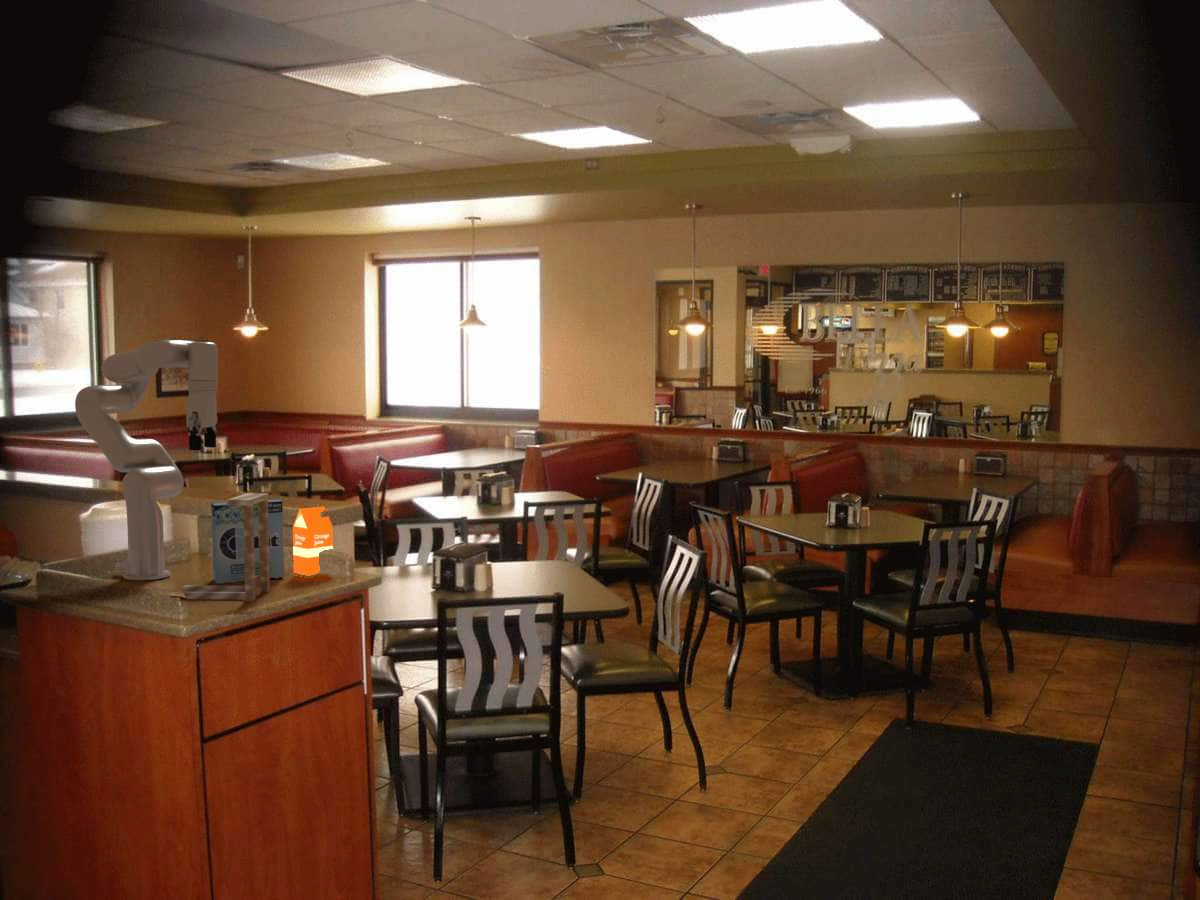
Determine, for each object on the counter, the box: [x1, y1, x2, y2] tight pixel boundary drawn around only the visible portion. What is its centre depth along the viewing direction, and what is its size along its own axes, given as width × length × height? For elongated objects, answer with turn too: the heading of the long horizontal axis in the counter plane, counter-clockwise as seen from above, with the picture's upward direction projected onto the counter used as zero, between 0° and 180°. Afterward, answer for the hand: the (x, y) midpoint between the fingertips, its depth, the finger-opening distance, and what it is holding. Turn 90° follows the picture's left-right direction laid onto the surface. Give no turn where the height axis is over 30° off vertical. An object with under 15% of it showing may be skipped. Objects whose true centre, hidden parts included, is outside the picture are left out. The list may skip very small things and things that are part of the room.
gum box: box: [210, 498, 286, 584], centre depth 323 cm, size 20×5×23 cm, turn 119°
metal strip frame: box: [181, 492, 271, 602], centre depth 300 cm, size 23×15×27 cm, turn 88°
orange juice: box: [292, 506, 334, 576], centre depth 332 cm, size 8×9×20 cm
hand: (202, 448), depth 309 cm, fingers open, 9 cm apart
